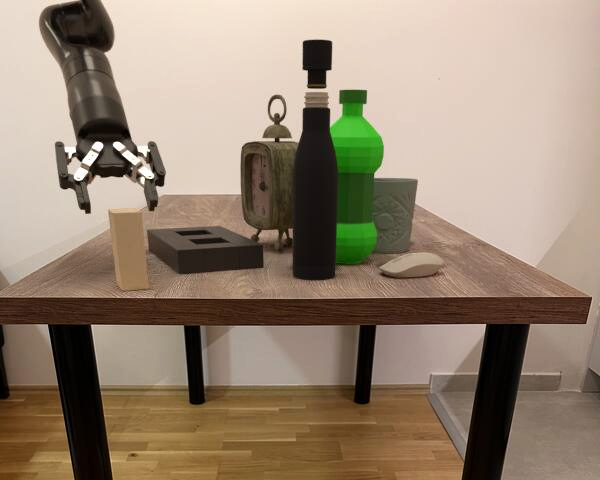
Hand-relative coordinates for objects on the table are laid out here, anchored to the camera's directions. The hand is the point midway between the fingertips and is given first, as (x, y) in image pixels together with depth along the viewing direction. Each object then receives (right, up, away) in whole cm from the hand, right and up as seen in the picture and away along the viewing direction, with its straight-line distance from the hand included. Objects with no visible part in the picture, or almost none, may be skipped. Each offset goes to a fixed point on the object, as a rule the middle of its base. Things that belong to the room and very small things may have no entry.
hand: (121, 208), depth 86 cm
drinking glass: (+40, +3, +30) cm, 50 cm away
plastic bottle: (+32, -2, +20) cm, 38 cm away
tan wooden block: (+1, -10, +2) cm, 10 cm away
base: (+8, -1, +22) cm, 23 cm away
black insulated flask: (+26, -7, +9) cm, 29 cm away
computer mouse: (+41, -6, +11) cm, 43 cm away
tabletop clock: (+21, +4, +32) cm, 38 cm away
